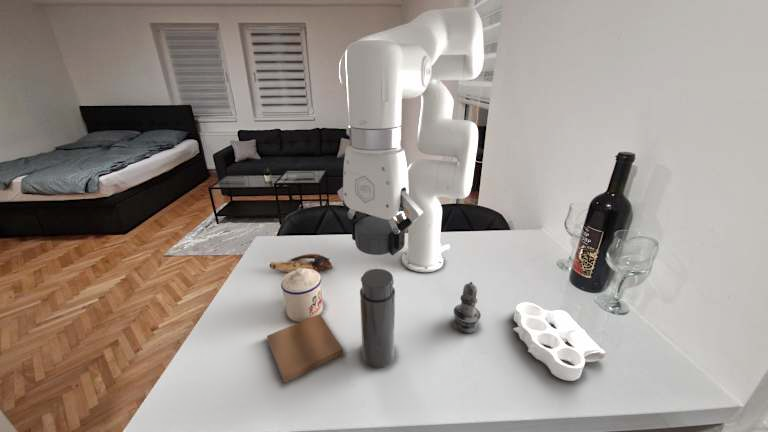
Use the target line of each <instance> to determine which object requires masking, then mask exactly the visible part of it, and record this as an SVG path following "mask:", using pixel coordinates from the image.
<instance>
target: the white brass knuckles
mask: <svg viewBox="0 0 768 432" xmlns="http://www.w3.org/2000/svg"><path fill="white" fill-rule="evenodd" d="M513 321H514V322H515V323H516V324H517V327H514V328H512V331H514V332H516V333H517V334H518V337H519V339H520V340H521V342H524V344H525V345H526V347H527V353H530V354H531V355H532V356H533V357H534V358H535V359H536V360H539V361H540V362H541V363H543V364H544V365H545V366H547V368H548V369H549V371H550V373H551V374H552V375H553V376H555V377H556V378H558V379H560V380H562V381H568V382H571V381H573V382H574V381H577V380H578V379H580V377H581V375H582V373H583V371H584V367H585V364H586V363H593V362H598V361H601V360H603V359H604V358H605V357H606V355H607V353H606V351H605V350H604V349H603V348H600V346H599V345H598V344H597V343H596V342H595V341H594V340H593V339H592V338H591V337H590V336H589V335H588V334H587V332H586V330H585V329H583V328H582V327H581V326H580V325H578V323H577V322H576V321H575V320H574V319H573V317H571V316H570V314H569V313H568V312H567V311H564V310H547V309H544V308H542V307H540V306H539V305H537V304H535V303H532V302H521V303H519V304H517V305H516V308H515V311H514V316H513ZM551 325H553V326H554V327H555V328H554V327H552V326H551ZM566 343H569V344H570V345H571V346H569V345H568V344H566ZM544 345H546V346H548V347H546V346H544ZM549 347H550V348H549ZM562 360H563V361H567V362H569V363H570V364H572V365H570V364H567V363H565V362H563V361H562Z"/></svg>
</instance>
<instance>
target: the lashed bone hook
mask: <svg viewBox="0 0 768 432" xmlns="http://www.w3.org/2000/svg"><path fill="white" fill-rule="evenodd" d="M305 259H312V260H310V261H300V260H305ZM269 268H270V269H271V270H276V271H279V272H285V273H286V272H287V273H290V272H292V271H294V270H297V269H298V268H303V269H312V270H315V271H317V272H322V271H326V270H332V269H333V263H332V262H331V261H330V257H325V256H324V255H321V254H319V253H307V254H302V255H298V256H296V257H295V256H294V257H293V258H292V259H290V261H272V262H270V263H269Z"/></svg>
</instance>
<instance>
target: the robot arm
mask: <svg viewBox="0 0 768 432" xmlns="http://www.w3.org/2000/svg"><path fill="white" fill-rule="evenodd" d="M484 60H485V47H484V27H483V22H482V19H481V16H480V14H479V11H478V10H476V9H475V8H474V7H470V6H465V7H451V8H450V7H449V8H437V9H430V10H427V11H424V12H422V13H420V14H419V15H418V16H416V17H415V18H414V19H412V20H411V21H409V22H408V23H404V24H400V25H397V26H394V27H392V28H388V29H385V30H381V31H379V32H375V33H372V34H369V35H366V36H363V37H361V38H359V39H358V40H356V41H353V42H351V43H350V44H348V46H347V47H346V49H345V50H344V51H343V53H342V56H341V58H340V61H339V67H338V75H339V80H340V81H339V82H340V84H341V86H342V88H343V89H344V91H345V92H346V94H347V110H348V111H347V112H348V113H347V114H348V127H347V128H346V133H345V134H346V136H347V137H349V145H347V146H346V148H345V152H344V159H343V172H342V187H340V189H338V190H337V195H338V197H339V199H340V200H341V202H342V206H343V207H344V209H345V211H347V217H348V219H350V223H351V226H350V227H351V239H352V240H353V241H355V224H356V223H357V222H358V221H359V220H360V219H362V218H365V217H367V215H368V216H375V217H378V218H381V219H386V220H388V221H389V224H390V226H391V228H392V232H390V234H389V253H388V254H390V255H391V256H395V255H396V254H397V253H398V252H400V251H402V250H403V248H404V247H405V242H406V241H405V239H406V229H407V250H406V251H405V252H404V253H403V254H402V255H401V256H402V257H401V262H402V264H403V265H404V267H406V268H407V269H409V270H411V271H413V272H417V273H432V272H436V271H438V270H440V269H441V268H442V267H443V265H444V257H443V255H442V254H443V253H444V252H446V251H449V250H450V249H451V246H450V243H445V244H442V243H441V232H442V231H441V230H442V220H443V206H442V204H441V202H440V200H439V199H438V197H440V198H450V199H457V200H462V199H465V198H467V197H468V196H469V195H470V193H471V191H472V187H473V180H474V173H475V167H476V159H477V158H476V157H477V151H478V143H479V129H478V126H477V124H476V123H475V122H473V121H472V120H467V119H453V112H454V111H453V110H454V106H455V102H454V98H453V95H452V94H451V92H450V90H449V89H448V88H447V86H445V84H444V83H443V82H442V81H471V80H475V79H476V78H477V77H479V76H480V74H481V72H482V70H483V67H484V62H485V61H484ZM419 96H420V101H421V102H420V103H421V105H420V113H419V121H418V127H417V128H418V129H417V136H416V139H417V140H416V147H417V150H418V151H419V152H420V153H422V154H424V155H428V156H429V155H430V156H438V157H439V156H440V157H451V158H455V159H456V160H457V161H447V160H438V159H423V158H422V159H417V160H414V161H412V162H411V163H410V164H409V165H408V163H407V156H406V152H405V149H404V148H402V114H403V113H402V111H403V109H402V108H403V99H415V98H417V97H419ZM405 211H407V213H408V215H407V216H406V215H405Z"/></svg>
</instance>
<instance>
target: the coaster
mask: <svg viewBox="0 0 768 432" xmlns="http://www.w3.org/2000/svg"><path fill="white" fill-rule="evenodd" d="M266 339H267V342H268V345H269V347H270V350H271V352H272V353H271V354H272V355H273V358H274V361H275V363H276V365H277V368H278V372H279V374H280V376H281V378H282V381H283V383H284V384H286V383H288V382H290V381H292V380H294V379H296V378H299V377H301V376H302V375H304V374H306V373H309V372H310V371H313V370H314V369H316V368H318V367H320V366H322V365H325V364H327V363H328V362H330V361H332V360H334V359H337V358H339V357H340V356H342V355H344V351H343V347H342V346H341V344H340V343H339V340H337V338H336V336H335V335H334V334H333V332H332V330H331V329H330V327H329V325H328V324H327V322H326V321H325V320H324V318H323V317H322V315H321V313H320V314H319V315H316V316H314V317H312V318H309V319H307V320H304V321H302V322H297V323H295V324H292V325H290V326H287V327H285V328H282V329H280V330H278V331H275V332H272V333H270V334H268V335H266Z"/></svg>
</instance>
